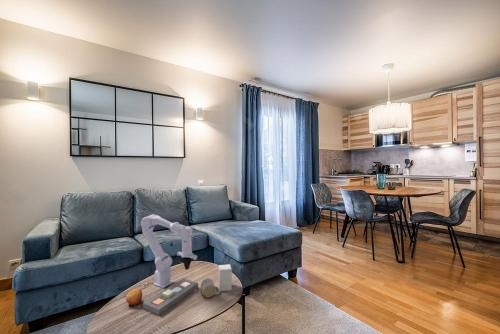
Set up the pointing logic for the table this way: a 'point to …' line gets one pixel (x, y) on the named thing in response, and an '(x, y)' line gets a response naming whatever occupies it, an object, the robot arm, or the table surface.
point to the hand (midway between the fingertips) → (187, 268)
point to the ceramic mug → (209, 288)
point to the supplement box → (225, 277)
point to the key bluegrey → (177, 289)
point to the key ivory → (185, 284)
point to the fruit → (134, 296)
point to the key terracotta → (158, 301)
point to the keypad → (172, 300)
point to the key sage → (168, 294)
